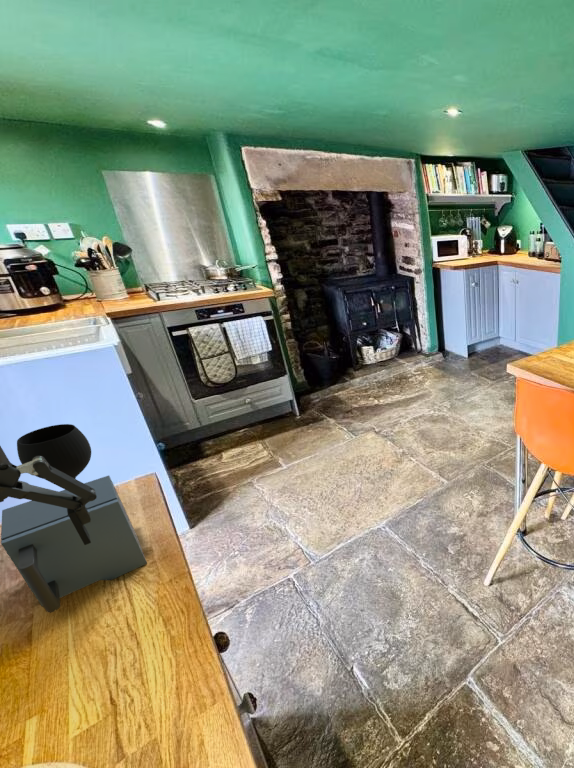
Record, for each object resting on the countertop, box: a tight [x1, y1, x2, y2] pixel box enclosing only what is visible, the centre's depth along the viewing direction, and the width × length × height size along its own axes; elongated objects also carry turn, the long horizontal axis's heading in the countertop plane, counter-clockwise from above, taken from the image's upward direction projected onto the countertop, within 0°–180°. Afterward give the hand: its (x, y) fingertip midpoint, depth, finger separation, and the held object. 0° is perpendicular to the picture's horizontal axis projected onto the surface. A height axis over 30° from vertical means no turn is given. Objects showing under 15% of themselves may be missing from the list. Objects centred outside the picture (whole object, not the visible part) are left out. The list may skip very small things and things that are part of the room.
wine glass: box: [16, 423, 92, 480], centre depth 91 cm, size 10×10×20 cm
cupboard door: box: [0, 499, 148, 614], centre depth 71 cm, size 7×14×16 cm, turn 138°
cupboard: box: [0, 475, 147, 561], centre depth 76 cm, size 10×14×16 cm
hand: (26, 564), depth 63 cm, fingers open, 13 cm apart
